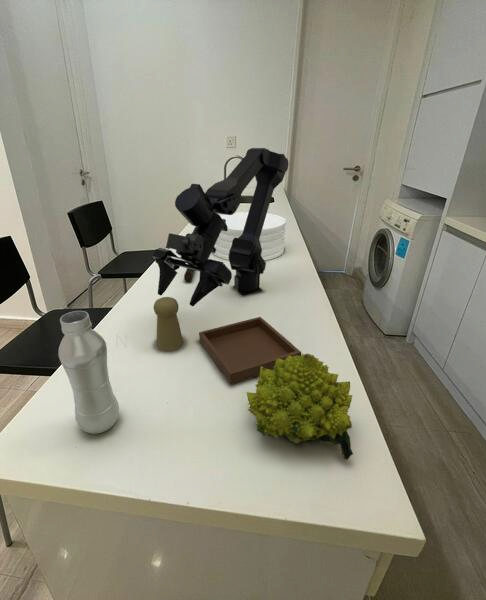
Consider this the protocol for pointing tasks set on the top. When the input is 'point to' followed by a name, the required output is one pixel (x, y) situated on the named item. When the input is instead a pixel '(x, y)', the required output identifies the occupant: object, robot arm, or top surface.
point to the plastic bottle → (87, 373)
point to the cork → (167, 325)
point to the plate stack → (268, 239)
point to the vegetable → (302, 402)
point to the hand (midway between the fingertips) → (174, 299)
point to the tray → (245, 348)
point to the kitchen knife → (188, 275)
